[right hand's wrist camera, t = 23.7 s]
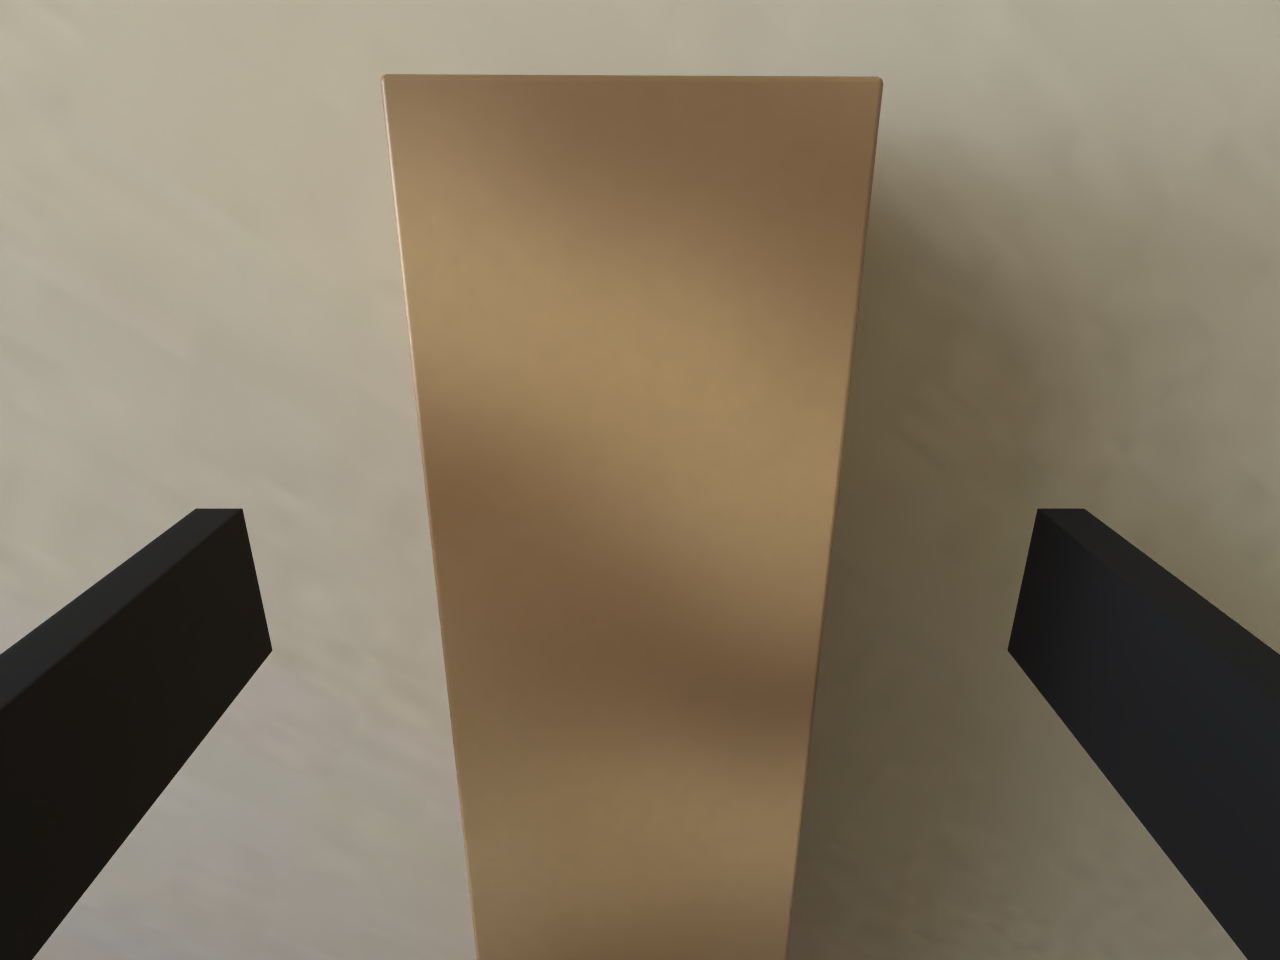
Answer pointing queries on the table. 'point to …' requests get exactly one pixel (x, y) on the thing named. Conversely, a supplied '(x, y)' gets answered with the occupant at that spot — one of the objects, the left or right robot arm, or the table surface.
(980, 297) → the table surface
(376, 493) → the table surface
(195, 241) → the table surface
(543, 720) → the post
